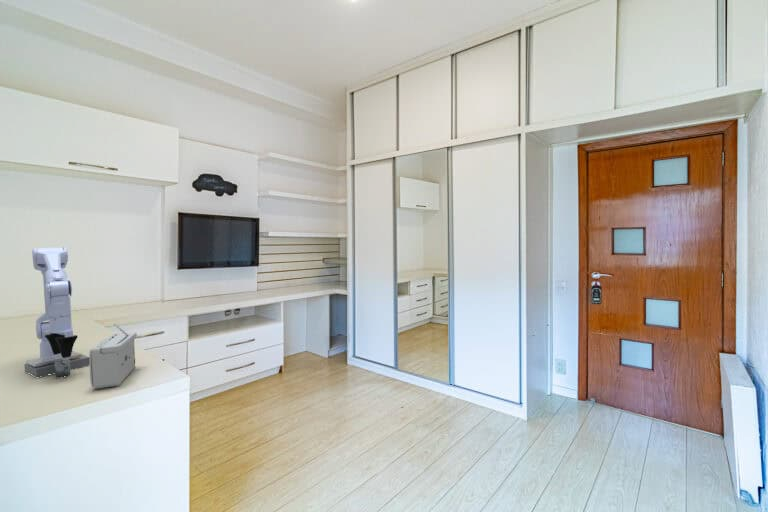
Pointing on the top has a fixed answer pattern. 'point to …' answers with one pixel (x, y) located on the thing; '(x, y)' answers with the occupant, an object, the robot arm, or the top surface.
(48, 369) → the base
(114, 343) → the stereo radio cassette player
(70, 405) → the top surface
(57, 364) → the cylinder
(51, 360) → the pan
